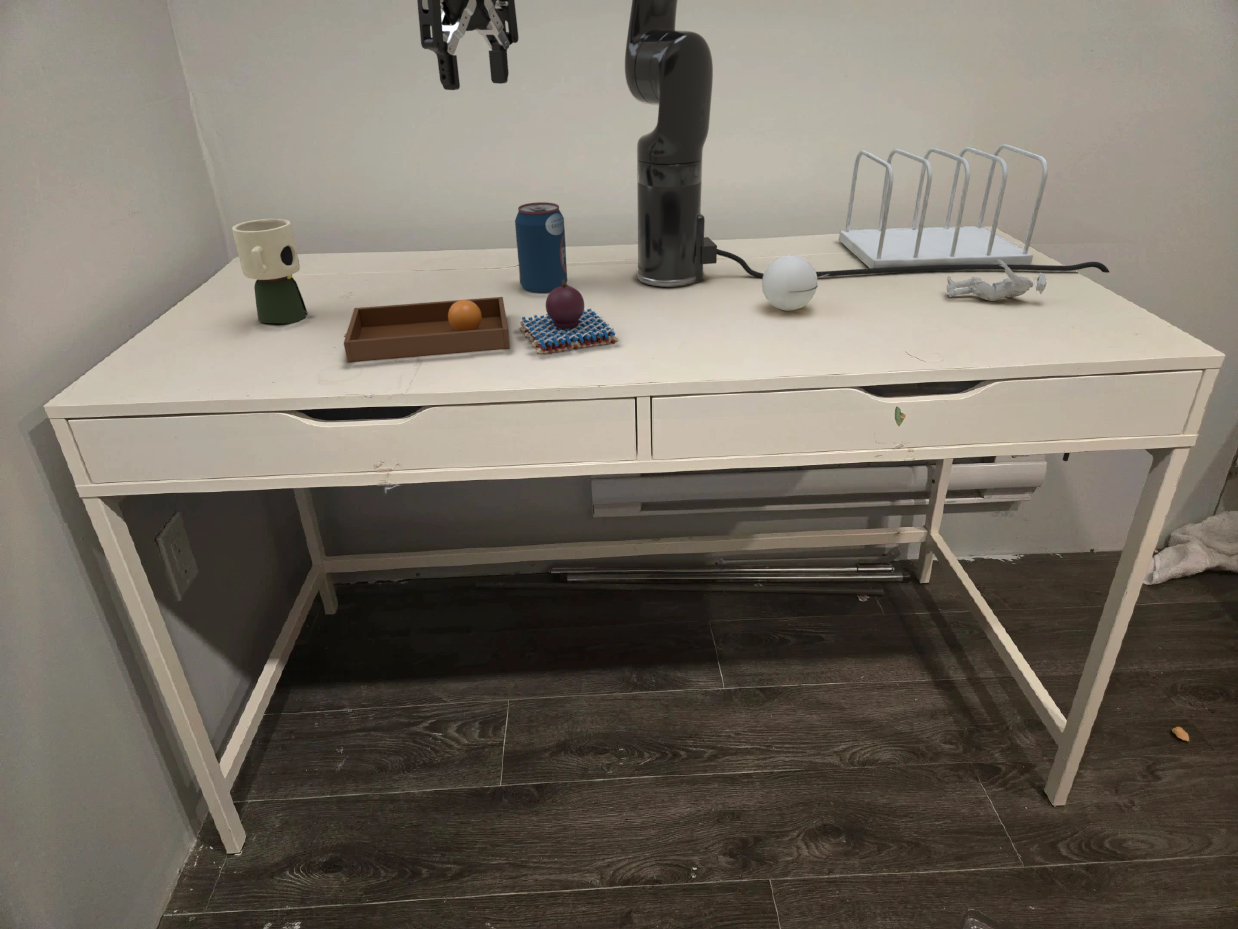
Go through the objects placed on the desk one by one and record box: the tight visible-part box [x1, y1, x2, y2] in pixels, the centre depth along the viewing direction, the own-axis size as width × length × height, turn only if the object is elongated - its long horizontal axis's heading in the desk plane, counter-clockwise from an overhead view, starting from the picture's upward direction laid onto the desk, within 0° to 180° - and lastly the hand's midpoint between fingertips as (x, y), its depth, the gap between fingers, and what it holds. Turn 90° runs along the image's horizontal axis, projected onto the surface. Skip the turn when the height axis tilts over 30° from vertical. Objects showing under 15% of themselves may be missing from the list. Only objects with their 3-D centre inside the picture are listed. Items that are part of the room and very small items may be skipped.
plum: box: [545, 280, 585, 328], centre depth 100 cm, size 5×5×6 cm
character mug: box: [231, 218, 309, 325], centre depth 107 cm, size 11×7×13 cm, turn 7°
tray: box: [343, 296, 511, 363], centre depth 102 cm, size 19×12×3 cm, turn 100°
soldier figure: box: [946, 260, 1048, 302], centre depth 111 cm, size 8×5×12 cm
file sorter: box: [838, 143, 1049, 269], centre depth 127 cm, size 25×17×16 cm
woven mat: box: [518, 308, 619, 355], centre depth 102 cm, size 10×11×2 cm
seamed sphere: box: [761, 254, 829, 312], centre depth 109 cm, size 10×7×7 cm
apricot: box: [448, 299, 482, 332], centre depth 103 cm, size 4×4×4 cm
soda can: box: [514, 201, 568, 294], centre depth 117 cm, size 7×7×12 cm
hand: (476, 86), depth 100 cm, fingers open, 8 cm apart
